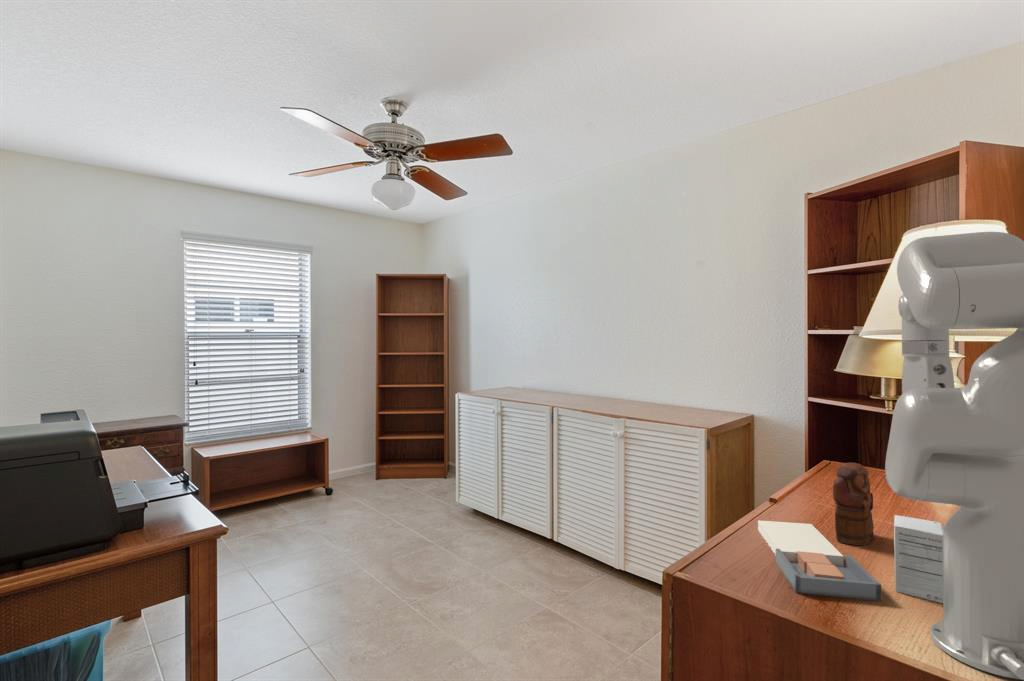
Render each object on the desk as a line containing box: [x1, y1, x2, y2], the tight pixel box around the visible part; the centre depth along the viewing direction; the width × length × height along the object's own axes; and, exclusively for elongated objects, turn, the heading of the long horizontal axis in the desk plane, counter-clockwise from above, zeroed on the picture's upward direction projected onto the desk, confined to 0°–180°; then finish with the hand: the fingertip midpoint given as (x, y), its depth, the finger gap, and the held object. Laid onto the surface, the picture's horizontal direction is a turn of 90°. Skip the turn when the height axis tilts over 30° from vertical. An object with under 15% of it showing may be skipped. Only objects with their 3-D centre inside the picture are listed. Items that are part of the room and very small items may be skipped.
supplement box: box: [893, 514, 944, 604], centre depth 92 cm, size 7×7×13 cm
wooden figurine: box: [832, 462, 875, 546], centre depth 115 cm, size 12×6×18 cm, turn 129°
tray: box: [775, 549, 882, 602], centre depth 96 cm, size 13×14×3 cm
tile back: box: [797, 551, 832, 573], centre depth 100 cm, size 5×5×2 cm
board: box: [757, 520, 845, 566], centre depth 111 cm, size 18×12×2 cm, turn 167°
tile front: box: [806, 562, 845, 580], centre depth 95 cm, size 5×5×2 cm
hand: (925, 437), depth 101 cm, fingers closed
